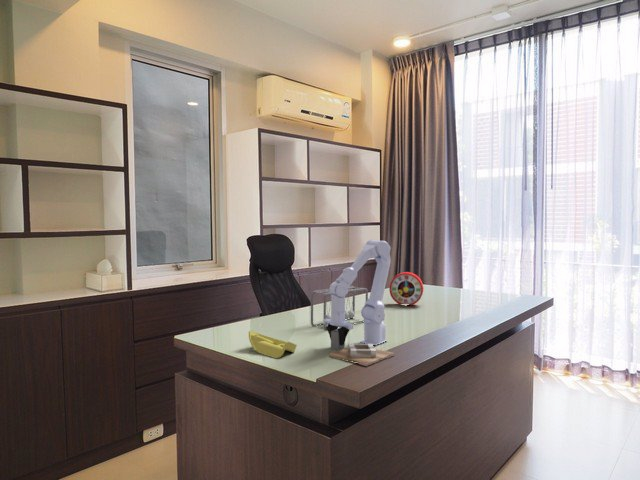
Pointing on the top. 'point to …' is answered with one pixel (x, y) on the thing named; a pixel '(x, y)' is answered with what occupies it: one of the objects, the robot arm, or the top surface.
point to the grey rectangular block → (335, 340)
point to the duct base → (360, 359)
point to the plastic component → (270, 345)
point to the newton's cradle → (347, 314)
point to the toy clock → (406, 288)
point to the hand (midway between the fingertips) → (337, 343)
